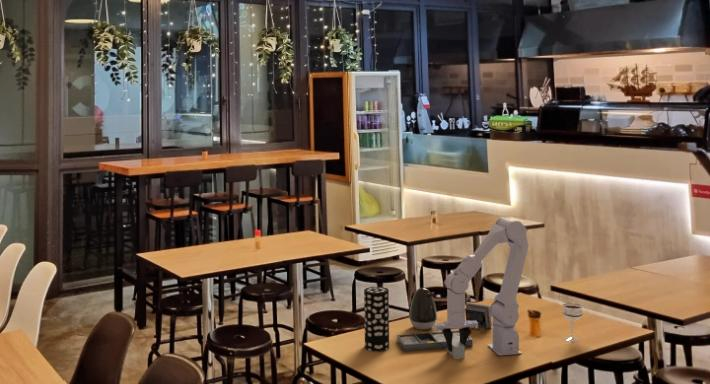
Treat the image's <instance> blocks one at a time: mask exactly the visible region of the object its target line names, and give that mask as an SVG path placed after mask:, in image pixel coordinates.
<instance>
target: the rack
mask: <svg viewBox="0 0 710 384" xmlns="http://www.w3.org/2000/svg"><path fill="white" fill-rule="evenodd" d="M451 332H452V333H453V337H452V339H458V340H459V341H460V333H459V329H456V330H451ZM473 341H474V340H473V338H471V337H470V336H469V337H468V339H467V341H466V344H465V348H466V347H467V348H468V347H473ZM396 342H397V344H398V345H399V346H400V347H401V350H402V351H403V352H404V353H405V352H415V351H416V352H417V351H427V350H429V351H430V350H441V349H442V350H443V349H447V342H446V339H445V337H444V334H443V332H442V331H432V332H425V331H424V332H417V333H408V334H407V333H405V334H397V335H396Z"/></svg>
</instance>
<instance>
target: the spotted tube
mask: <svg viewBox="0 0 710 384" xmlns="http://www.w3.org/2000/svg"><path fill="white" fill-rule="evenodd" d="M389 291H390V290H389V288H387V287H383V286H371V287H370V286H369V287H366V288H365V289H363V302H364V303H363V304H364V305H363V306H364V307H363V309H364V310H363V311H364V313H363V314H364V316H363V317H364V349H365V348H366V350H367V351H370V352H378V351H379V352H384V351H387V350H389V349H390V304H389V303H390V297H389V296H390V295H389V294H390V292H389Z"/></svg>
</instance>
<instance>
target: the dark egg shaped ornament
mask: <svg viewBox="0 0 710 384" xmlns="http://www.w3.org/2000/svg"><path fill="white" fill-rule="evenodd" d="M434 295H435V293H434V292H431V291H430V290H429V289H428V288H426V287H420V288H418V289H417V290H416V291H415V293H414V294H413V297H412V299H411V304H410V309H409V317H408V319H409V320H410V324H411V325H412V327H414V328H415V329H417V330H421V331H426V330H430V329H431V328H434V324H436V322H437V319H438V314H437V306H436V303H435V301H434V297H433V296H434Z"/></svg>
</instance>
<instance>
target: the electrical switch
mask: <svg viewBox="0 0 710 384" xmlns="http://www.w3.org/2000/svg"><path fill="white" fill-rule="evenodd" d="M490 306H491V305H488V304H483V303H475V302H471V301H467V302H465V321H477V322H478V328H477V329H479V330H485V331H487V330H488V329H489V328H490V329H491V328H492V327H493V320H492V316H491V314H490V311H489V310H490Z"/></svg>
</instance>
